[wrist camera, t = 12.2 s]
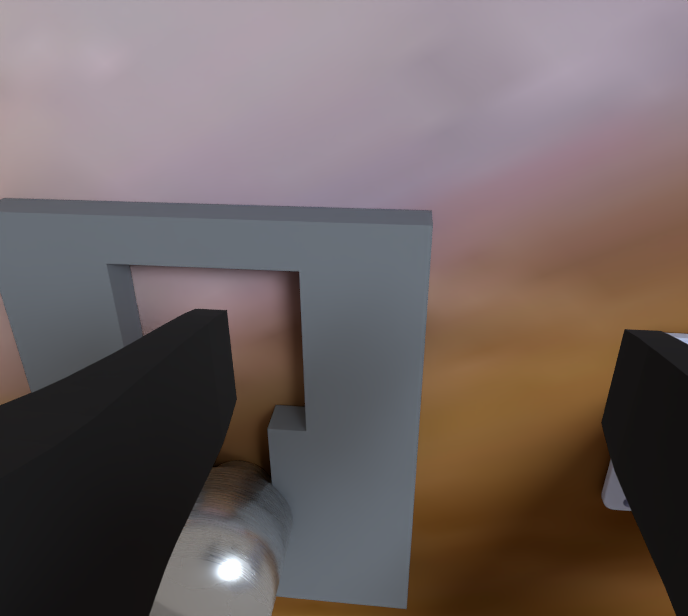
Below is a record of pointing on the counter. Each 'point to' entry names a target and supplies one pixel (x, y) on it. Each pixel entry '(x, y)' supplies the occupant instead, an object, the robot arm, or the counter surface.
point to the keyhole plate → (317, 339)
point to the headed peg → (228, 548)
